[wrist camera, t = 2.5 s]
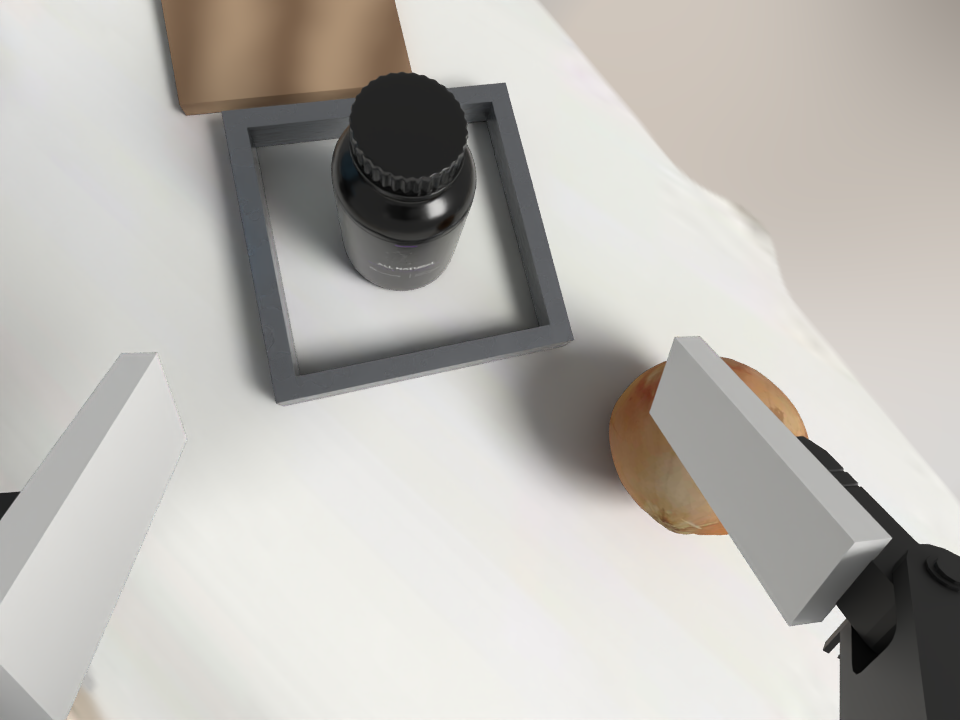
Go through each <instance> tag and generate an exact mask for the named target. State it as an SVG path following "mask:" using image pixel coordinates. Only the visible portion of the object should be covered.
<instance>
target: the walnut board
mask: <svg viewBox="0 0 960 720" xmlns="http://www.w3.org/2000/svg"><path fill="white" fill-rule="evenodd" d="M161 2H162V8H163V14H164V19H165V25H166V31H167V36H168V42H169V48H170V53H171V59H172V65H173V70H174V76H175V82H176V87H177V93H178V99H179V104H180V106H181V108H182V110H183V111H184V113H185V114H186V115H196V114H206V113H216V112H222V111H227V110H237V109H247V108H257V107H267V106H277V105H287V104H297V103H307V102H317V101H327V100H337V99H347V98H356V96H357V95H358V94H359V93H361V90H362V88H363V87H365V86H367V85H368V84H369V82H370V81H372V80H376V79H377V78H378V77H379V76H382V75H387V74H389V73H399V72H405V73H412V71H411V67H410V62H409V58H408V54H407V50H406V46H405V42H404V38H403V33H402V29H401V25H400V21H399V17H398V13H397V9H396V4H395V0H161Z"/></svg>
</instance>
